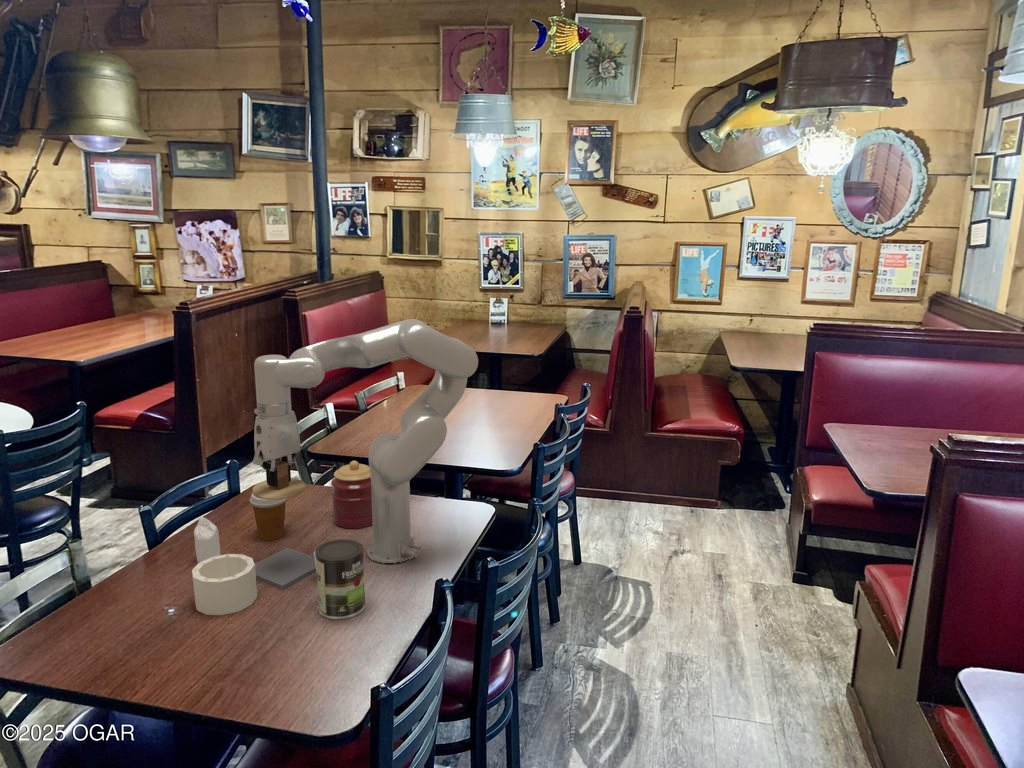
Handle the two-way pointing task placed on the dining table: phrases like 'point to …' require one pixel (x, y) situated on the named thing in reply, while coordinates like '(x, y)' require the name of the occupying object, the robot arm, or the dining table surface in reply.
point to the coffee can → (340, 579)
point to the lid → (279, 485)
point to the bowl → (224, 584)
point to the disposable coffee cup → (269, 517)
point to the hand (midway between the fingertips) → (279, 482)
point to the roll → (206, 540)
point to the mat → (285, 568)
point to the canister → (352, 496)
